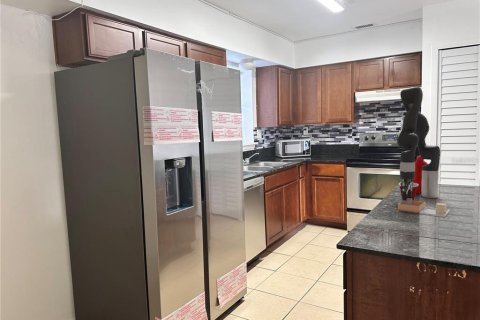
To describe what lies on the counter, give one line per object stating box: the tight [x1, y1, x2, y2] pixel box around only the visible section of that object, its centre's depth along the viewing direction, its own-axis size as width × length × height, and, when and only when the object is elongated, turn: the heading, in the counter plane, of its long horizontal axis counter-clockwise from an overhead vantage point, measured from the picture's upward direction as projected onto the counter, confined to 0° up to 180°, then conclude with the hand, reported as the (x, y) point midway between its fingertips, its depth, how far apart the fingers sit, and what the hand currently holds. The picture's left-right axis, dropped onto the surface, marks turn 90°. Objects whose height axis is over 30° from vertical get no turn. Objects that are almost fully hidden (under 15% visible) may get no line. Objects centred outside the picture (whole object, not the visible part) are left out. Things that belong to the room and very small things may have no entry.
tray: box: [419, 206, 451, 218], centre depth 176 cm, size 14×12×1 cm
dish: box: [397, 200, 426, 214], centre depth 183 cm, size 12×11×4 cm
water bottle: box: [413, 155, 429, 194], centre depth 225 cm, size 9×11×25 cm
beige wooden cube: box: [435, 202, 448, 215], centre depth 174 cm, size 4×4×5 cm
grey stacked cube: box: [401, 198, 412, 205], centre depth 185 cm, size 4×4×5 cm
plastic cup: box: [398, 182, 418, 201], centre depth 198 cm, size 11×11×12 cm
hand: (406, 198), depth 185 cm, fingers open, 7 cm apart
